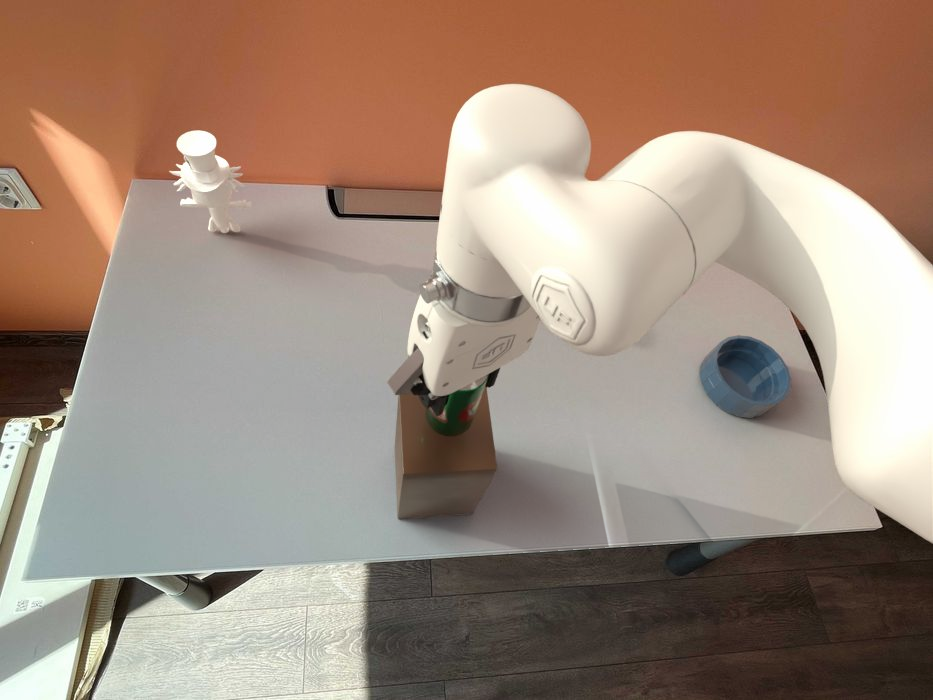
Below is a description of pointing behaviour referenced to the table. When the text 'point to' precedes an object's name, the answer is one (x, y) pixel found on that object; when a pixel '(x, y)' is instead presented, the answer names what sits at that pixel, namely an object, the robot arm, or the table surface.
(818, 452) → the table surface
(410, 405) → the plinth
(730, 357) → the bowl
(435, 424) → the soda can
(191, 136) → the figurine
